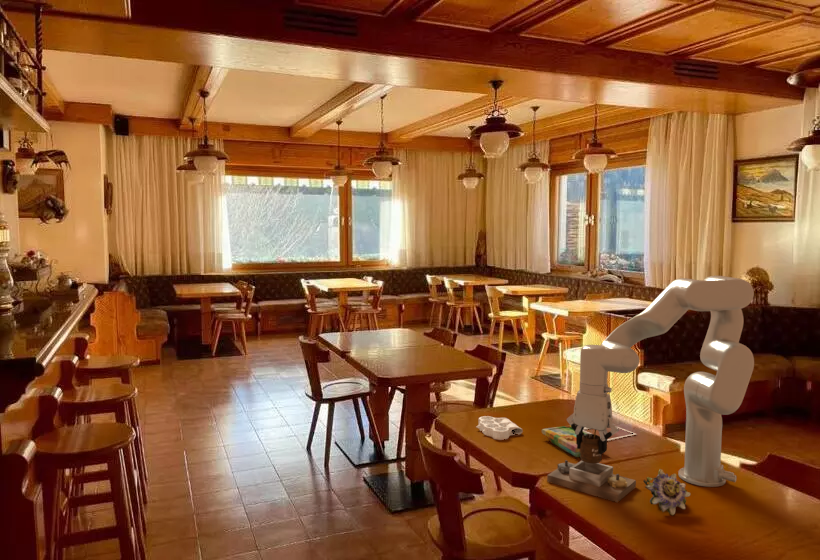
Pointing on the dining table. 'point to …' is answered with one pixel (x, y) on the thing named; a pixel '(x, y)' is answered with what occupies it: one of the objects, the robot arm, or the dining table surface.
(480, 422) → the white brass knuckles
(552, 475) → the gear board
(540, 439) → the dining table surface
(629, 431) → the photo frame
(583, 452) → the utensil holder
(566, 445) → the puzzle game
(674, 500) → the passion flower
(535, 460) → the dining table surface
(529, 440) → the dining table surface
